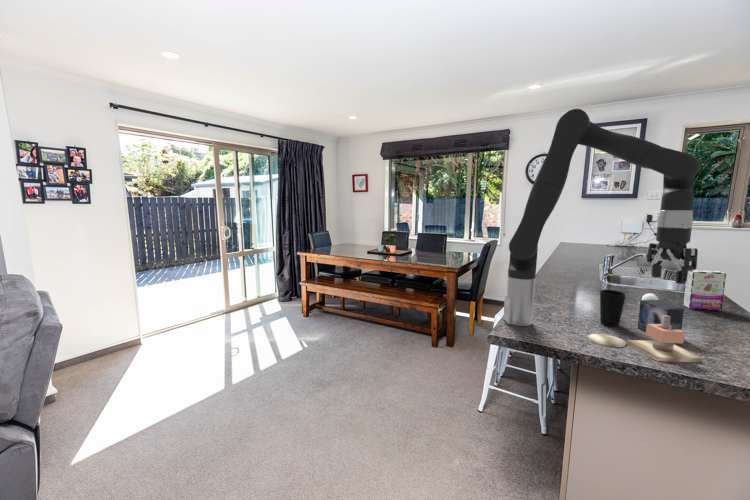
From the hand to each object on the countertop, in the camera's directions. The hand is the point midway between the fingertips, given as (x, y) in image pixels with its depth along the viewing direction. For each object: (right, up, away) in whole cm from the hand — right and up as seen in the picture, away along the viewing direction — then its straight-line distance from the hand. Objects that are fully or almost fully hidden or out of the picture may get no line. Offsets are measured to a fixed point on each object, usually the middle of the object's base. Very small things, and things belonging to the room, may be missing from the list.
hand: (667, 280), depth 99 cm
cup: (-1, -19, +24) cm, 30 cm away
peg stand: (-2, -21, 0) cm, 22 cm away
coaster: (-13, -20, +8) cm, 25 cm away
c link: (-2, -17, -1) cm, 17 cm away
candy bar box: (+52, -16, +43) cm, 69 cm away
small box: (+10, -20, +15) cm, 27 cm away
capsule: (+25, -17, +37) cm, 48 cm away
